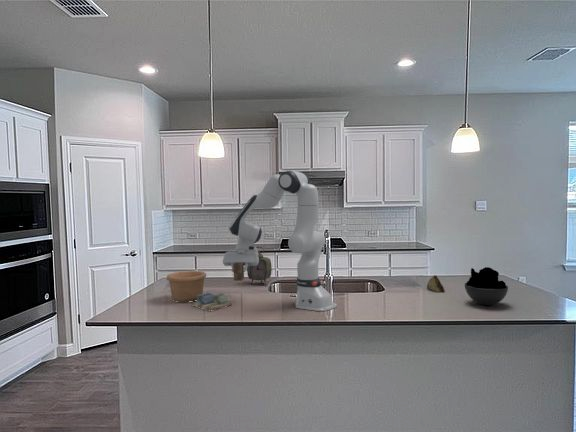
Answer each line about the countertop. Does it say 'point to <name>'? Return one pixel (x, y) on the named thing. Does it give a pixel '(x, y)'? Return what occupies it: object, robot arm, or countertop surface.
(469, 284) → the bowl of black rocks
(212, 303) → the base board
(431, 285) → the rock
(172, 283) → the pottery
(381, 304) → the countertop surface
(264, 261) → the tabletop clock
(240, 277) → the pillar
